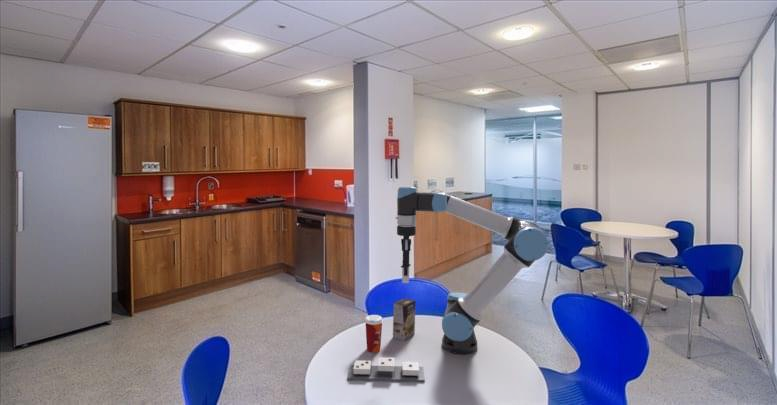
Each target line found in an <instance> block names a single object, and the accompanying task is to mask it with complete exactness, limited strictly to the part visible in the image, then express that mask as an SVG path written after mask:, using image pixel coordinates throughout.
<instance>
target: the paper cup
mask: <svg viewBox="0 0 777 405" xmlns="http://www.w3.org/2000/svg"><path fill="white" fill-rule="evenodd" d="M364 322H365V336H366V337H365V338H366V350H367V352H368V353H372V354H373V353H374V354H376V353H378V352H379V353H380V351H381V345H382V332H383V323H384V320H383V317H382V316H381V315H379V314H370V315H367V316H366V317H365V319H364Z"/></svg>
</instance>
